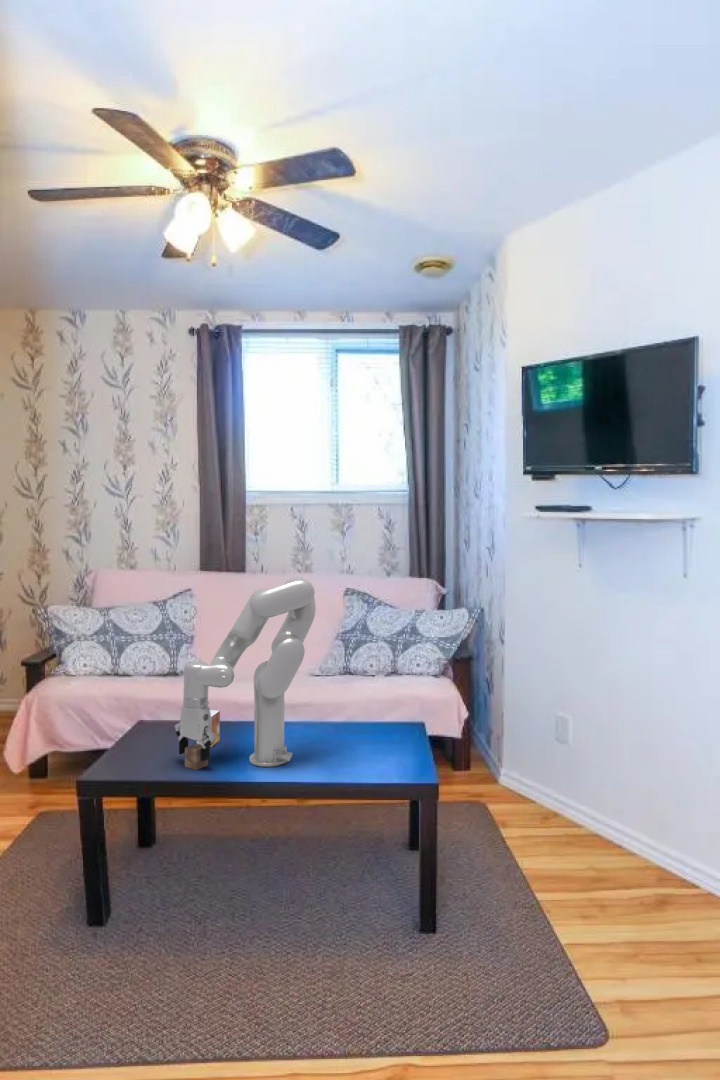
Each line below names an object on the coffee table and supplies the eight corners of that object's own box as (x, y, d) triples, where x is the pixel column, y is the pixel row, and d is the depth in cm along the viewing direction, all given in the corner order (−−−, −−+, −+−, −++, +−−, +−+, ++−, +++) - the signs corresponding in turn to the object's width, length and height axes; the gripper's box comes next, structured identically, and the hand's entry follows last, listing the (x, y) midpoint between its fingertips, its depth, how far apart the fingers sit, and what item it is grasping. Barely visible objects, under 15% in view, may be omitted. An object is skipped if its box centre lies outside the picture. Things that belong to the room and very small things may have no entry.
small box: (211, 747, 226) (211, 716, 226) (195, 746, 227) (196, 715, 227) (220, 740, 234) (220, 710, 234) (205, 739, 235) (205, 709, 235)
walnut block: (208, 765, 210) (208, 746, 210) (195, 770, 206) (195, 750, 206) (197, 762, 213) (197, 743, 213) (184, 766, 209) (184, 747, 208)
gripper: (224, 704, 207) (222, 759, 207) (186, 694, 217) (184, 747, 217) (205, 709, 201) (204, 766, 201) (167, 699, 210) (165, 753, 211)
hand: (193, 756), depth 209 cm, fingers open, 9 cm apart
